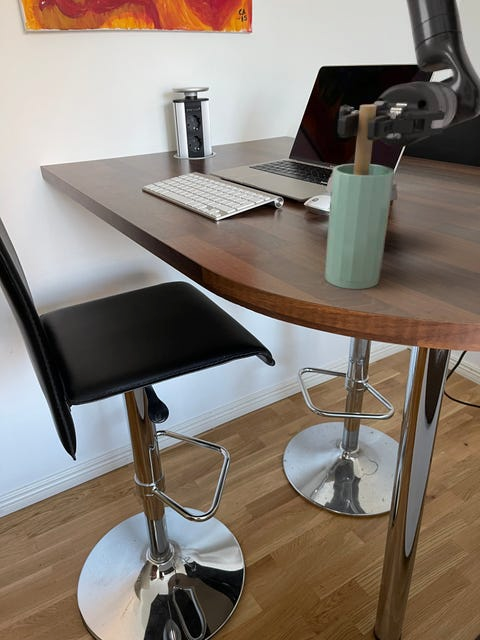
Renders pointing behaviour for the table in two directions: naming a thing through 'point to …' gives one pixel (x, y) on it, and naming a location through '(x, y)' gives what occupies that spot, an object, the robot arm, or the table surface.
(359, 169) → the brush
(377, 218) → the mint green pencil cup
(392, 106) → the robot arm
